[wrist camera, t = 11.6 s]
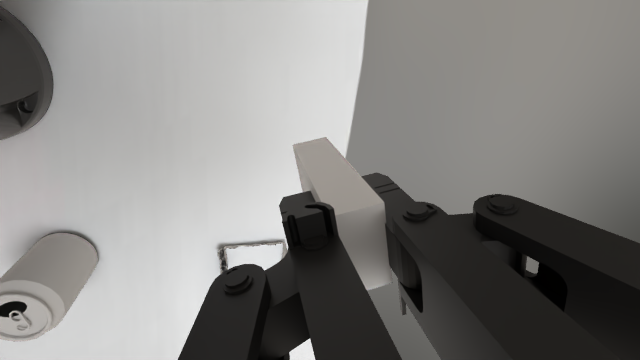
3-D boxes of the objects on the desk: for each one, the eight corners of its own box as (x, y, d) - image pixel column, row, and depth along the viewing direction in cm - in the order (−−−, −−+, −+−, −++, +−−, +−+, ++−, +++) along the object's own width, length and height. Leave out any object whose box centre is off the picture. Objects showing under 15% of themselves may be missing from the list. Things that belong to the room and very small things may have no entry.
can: (79, 221, 44) (26, 280, 33) (111, 263, 47) (72, 330, 36) (22, 242, 43) (-51, 309, 32) (58, 283, 46) (3, 358, 35)
